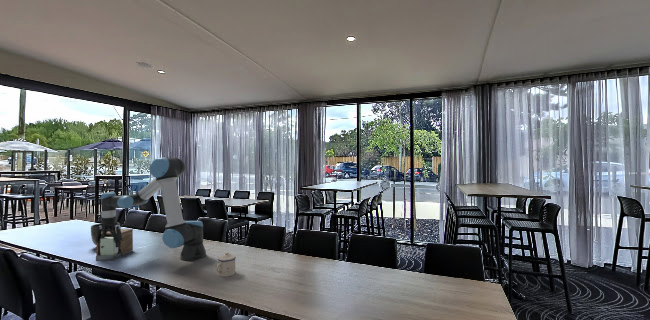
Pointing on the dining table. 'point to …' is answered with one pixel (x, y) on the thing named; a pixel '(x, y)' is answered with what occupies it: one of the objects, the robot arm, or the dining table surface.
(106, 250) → the pale green block
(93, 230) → the planter
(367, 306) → the dining table surface
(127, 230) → the wood-grain box
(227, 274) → the teacup with lid
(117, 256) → the grey drawer
